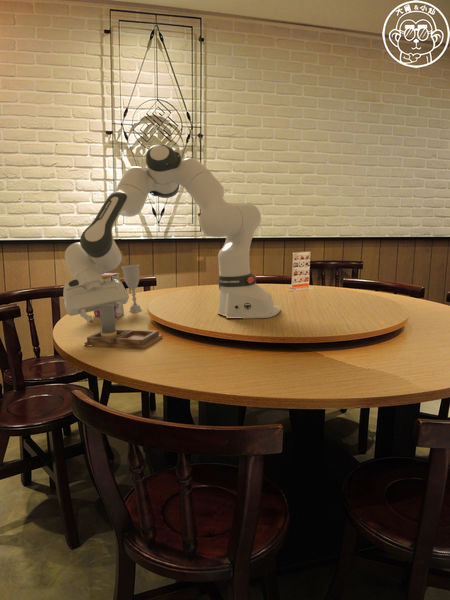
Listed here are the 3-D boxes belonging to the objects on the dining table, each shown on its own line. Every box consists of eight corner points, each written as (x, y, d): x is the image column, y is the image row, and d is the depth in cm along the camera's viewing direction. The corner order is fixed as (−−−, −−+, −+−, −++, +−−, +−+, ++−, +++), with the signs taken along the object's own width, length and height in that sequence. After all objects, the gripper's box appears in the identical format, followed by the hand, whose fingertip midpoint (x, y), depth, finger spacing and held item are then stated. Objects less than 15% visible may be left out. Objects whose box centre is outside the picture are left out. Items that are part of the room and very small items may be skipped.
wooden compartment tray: (162, 337, 144) (161, 330, 143) (144, 349, 134) (143, 340, 133) (105, 335, 151) (104, 328, 151) (84, 345, 141) (83, 338, 141)
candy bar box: (93, 316, 179) (87, 275, 176) (102, 313, 184) (96, 272, 180) (116, 317, 174) (111, 275, 171) (124, 314, 179) (119, 272, 175)
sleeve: (119, 335, 146) (117, 304, 144) (111, 339, 142) (108, 307, 140) (106, 334, 147) (104, 303, 146) (98, 338, 143) (95, 306, 141)
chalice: (134, 313, 179) (129, 267, 175) (123, 312, 183) (117, 267, 179) (148, 309, 184) (143, 264, 181) (136, 308, 189) (131, 264, 185)
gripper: (118, 285, 159) (134, 316, 153) (58, 296, 148) (72, 331, 142) (121, 273, 154) (137, 305, 149) (59, 284, 143) (74, 320, 138)
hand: (105, 318), depth 145 cm, fingers open, 8 cm apart
